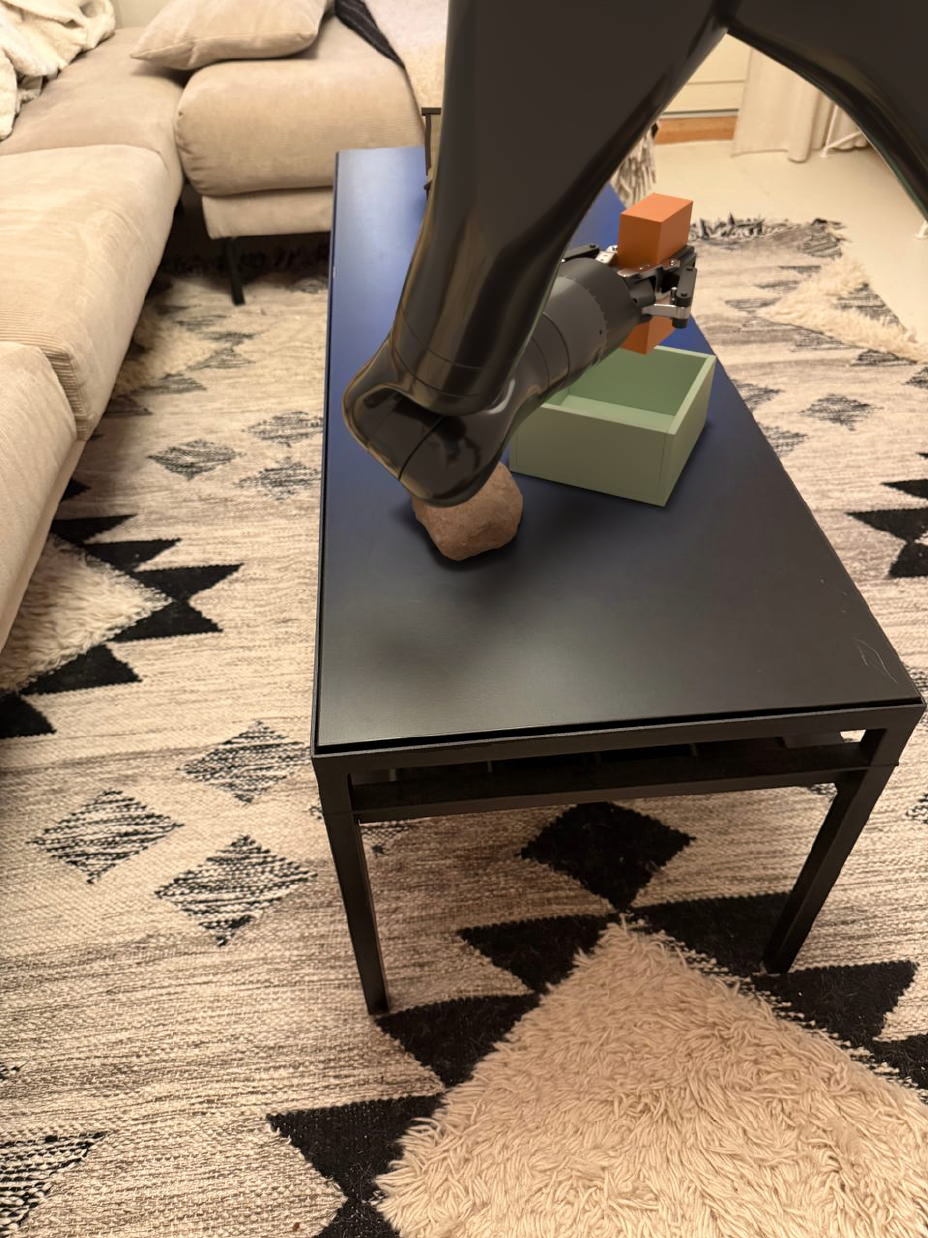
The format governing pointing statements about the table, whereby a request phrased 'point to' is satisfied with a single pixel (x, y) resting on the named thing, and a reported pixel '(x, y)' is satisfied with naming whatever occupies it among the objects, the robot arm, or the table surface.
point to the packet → (652, 252)
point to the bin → (620, 425)
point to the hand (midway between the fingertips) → (665, 251)
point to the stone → (475, 518)
